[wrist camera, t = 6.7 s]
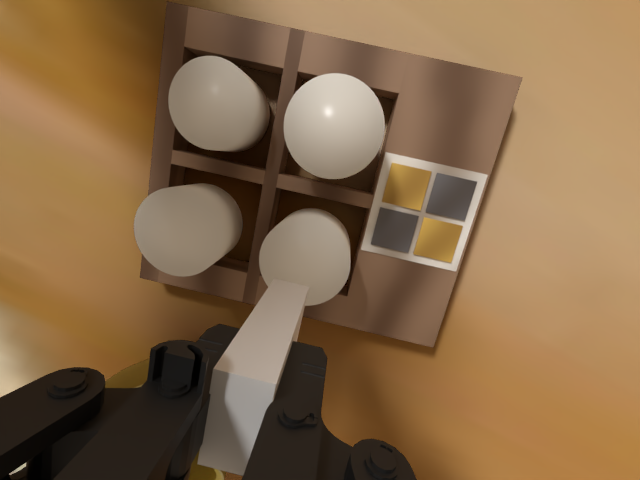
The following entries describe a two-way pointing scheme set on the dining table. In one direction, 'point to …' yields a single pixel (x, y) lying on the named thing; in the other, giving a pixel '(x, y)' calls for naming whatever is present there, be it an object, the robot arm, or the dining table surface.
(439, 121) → the egg tray
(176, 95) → the white egg
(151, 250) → the white egg
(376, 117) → the white egg
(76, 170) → the dining table surface
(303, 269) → the cream rounded oval
